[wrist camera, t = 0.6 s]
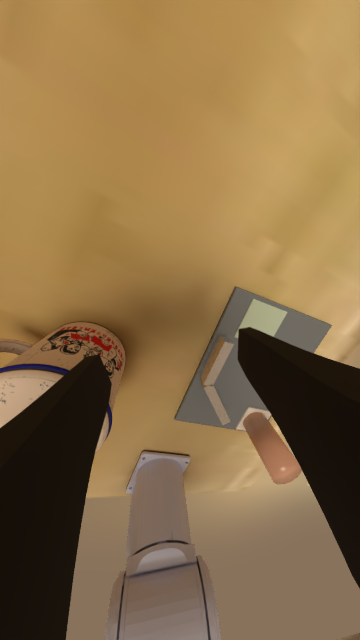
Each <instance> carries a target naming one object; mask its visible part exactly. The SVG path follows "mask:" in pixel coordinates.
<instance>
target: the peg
mask: <svg viewBox="0 0 360 640" xmlns="http://www.w3.org/2000/svg"><path fill="white" fill-rule="evenodd" d="M243 426H244V428H245V429H246V431H247V433H248V435H249V437H250V439H251V441H252V443H253V444H254V446H255V448H256V450H257V452H258V454H259V456H260V458H261V459H262V461H263V463H264V465H265V467H266V469H267V471H268V472H269V474H270V476H271V478H272V480H273V482H274V483H276V484H285V483H289V482H291V481H293V480H294V479H295V478H297V477H298V476H299V475H300V473H301V470H302V469H301V467H300V465H299V463H298V462H297V460H296V459H295V458H294V456H293V455H292V453H291V452H290V451H289V449H288V448H287V447H286V445H285V443H284V442H283V441H282V439H281V438H280V436H279V435H278V434H277V432H276V431H275V429H274V428H273V426H272V425H271V424H270V422H269V421H268V419H267V418H266V416H265V415H264V414H263V413H261V412H253V413H251V414H249V415H248V416H246V417H245V419H244V421H243Z"/></svg>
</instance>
